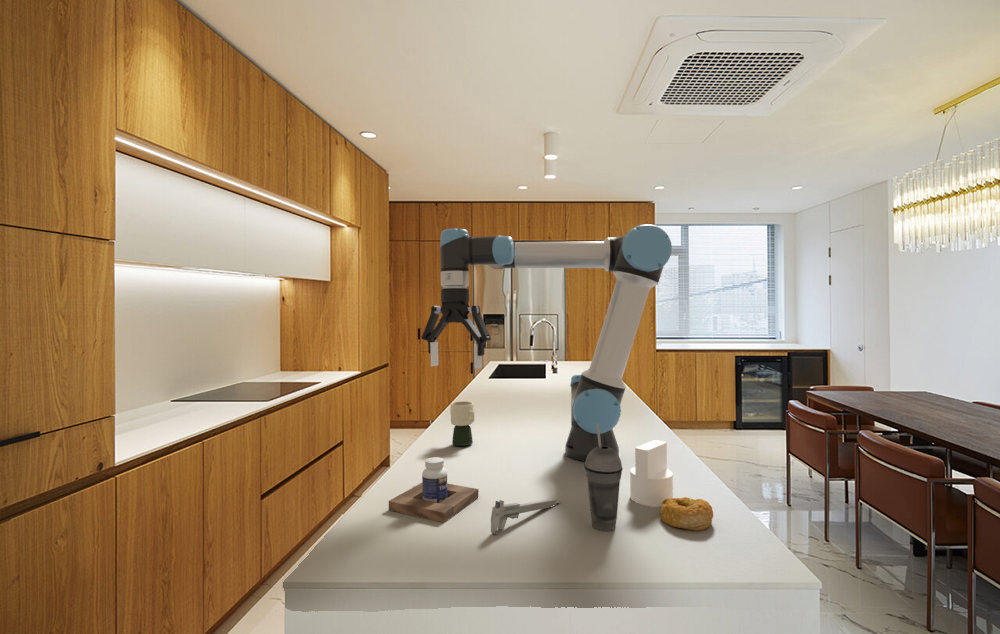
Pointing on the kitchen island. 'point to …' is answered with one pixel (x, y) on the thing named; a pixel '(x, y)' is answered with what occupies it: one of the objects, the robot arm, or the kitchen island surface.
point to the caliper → (514, 512)
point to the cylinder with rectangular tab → (651, 475)
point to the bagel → (686, 513)
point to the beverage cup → (603, 485)
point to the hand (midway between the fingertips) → (455, 367)
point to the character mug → (462, 422)
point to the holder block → (442, 511)
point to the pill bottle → (434, 480)
